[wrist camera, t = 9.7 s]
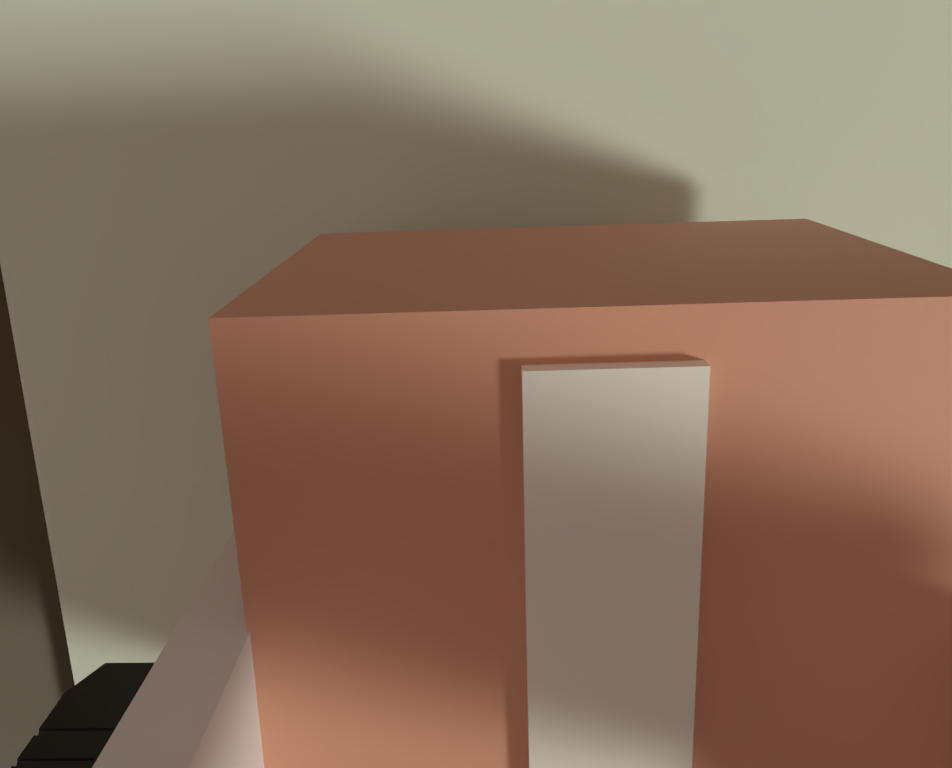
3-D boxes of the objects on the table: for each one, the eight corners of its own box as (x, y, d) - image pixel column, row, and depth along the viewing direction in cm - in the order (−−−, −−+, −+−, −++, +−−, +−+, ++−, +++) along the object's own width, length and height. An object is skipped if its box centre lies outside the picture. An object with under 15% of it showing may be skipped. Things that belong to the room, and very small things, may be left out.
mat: (1154, -37, 14) (1183, -43, 13) (993, 823, 18) (1010, 846, 18) (-27, -10, 14) (-50, -15, 13) (115, 829, 19) (103, 852, 18)
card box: (766, 743, 16) (919, 1088, 10) (363, 751, 16) (298, 1095, 10) (806, 218, 13) (1040, 298, 7) (320, 233, 13) (201, 323, 8)
